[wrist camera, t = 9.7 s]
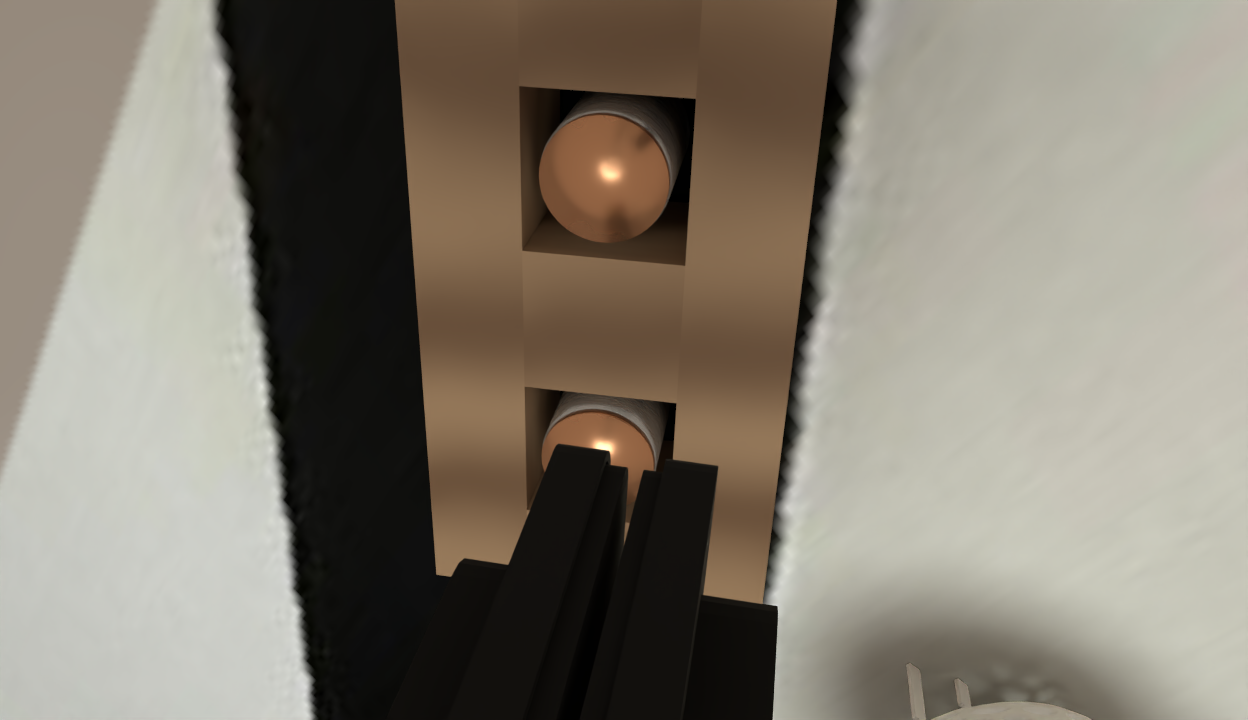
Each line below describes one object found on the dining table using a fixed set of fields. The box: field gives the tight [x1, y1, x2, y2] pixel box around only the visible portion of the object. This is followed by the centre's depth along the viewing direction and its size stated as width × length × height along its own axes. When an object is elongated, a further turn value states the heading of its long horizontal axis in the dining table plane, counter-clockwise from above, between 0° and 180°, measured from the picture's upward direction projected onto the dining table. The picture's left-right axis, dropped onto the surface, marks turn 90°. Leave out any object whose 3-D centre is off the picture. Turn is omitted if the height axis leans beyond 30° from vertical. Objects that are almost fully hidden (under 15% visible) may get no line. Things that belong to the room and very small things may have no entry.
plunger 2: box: [541, 391, 672, 505], centre depth 34 cm, size 4×4×5 cm
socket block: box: [395, 0, 837, 604], centre depth 32 cm, size 20×11×5 cm, turn 178°
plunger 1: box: [539, 91, 690, 243], centre depth 29 cm, size 4×4×5 cm
